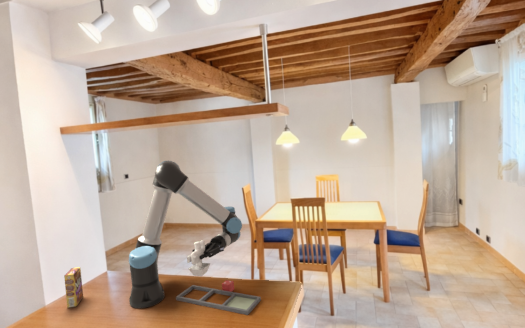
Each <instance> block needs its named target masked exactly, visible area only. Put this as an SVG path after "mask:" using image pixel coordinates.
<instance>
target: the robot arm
mask: <svg viewBox="0 0 525 328" xmlns="http://www.w3.org/2000/svg"><path fill="white" fill-rule="evenodd" d="M152 187H153V188H154V191H153V193H152V194H153V195H152V198H151V200H150V201H151V202H150V205H149V209H148V211H147V216H146V219H145V224H144V227H143V230H142V234H141V235H140V236H138V238H137V241H136V245H135V248H134V249H132V250H131V251H130V252H129V254H128V264H129V270H130V279H131V290H130V296H129V299H128V300H129V306H130V307H131V308H134V309H145V308H150V307H152V306H155V305H157V304H159V303H160V302H162V301H163V300H164V299H165V297H166V296H165V290H164V288H163V286H162V284H161V282H160V279H159V277H160V276H159V267H158V262H159V261H158V260H159V255H160V250H161V247H162V244H163V242H162V239H161V236H162V231H163V227H164V225H165V221H166V216H167V214H168V213H167V212H168V209H169V205H170V202H171V198H172V194H173V193H174V194H175V195H176V194H179V195H180V196H182V197H183V198H184V199H186V200H187V201H188V202H189V203H191V204H193V205H194V206H195V207H197V209H199V210H201V211H202V212H203V213H205V214H206V215H207V216H208V217H210V218H211V219H213V220H214V221H215V222H217V223H219V224H220V225H221V226H222V227H221V229H222V232H221V233H218V234H217V235H216V236H214V237H212V238H211V239H210V241H209V242H208V243H206V244H205V251H204V252H201V253H200V254H198V255H196V256H195V257H193V261H194V264H195V263H197V262H199V261H200V260H202V261H203V259H207V258H212V257H214V256H216V255H218V254H220V253H221V252H224V251H225V249H226V248H227V247H229V246H230V245H232V244H234V243H235V242H237V241H238V240H239V239H240V238H241V230H242V227H243V223H242V220H241V219H240V218H239V217H238V216H237V215H236V208H235V207H234V206H223V205H221V204H220V203H219V202H218V201H217V200H215V199H214V198H212V197H211V196H210V195H208V193H207V192H204V191H203V190H202V189H201V188H199V186H197V185H196V184H195V183H193V182H192V181H190V180H189V177H188V175H186V174H185V173H184V172H183V171H182V170H181V168H180V166H179V165H178V163H176V162H175V161H172V160H164V161H162V162H160V163H158V165H157V166H156V168H155V172H154V178H153V182H152ZM194 251H195V248H193V249H192V252H194ZM192 252H191V253H192ZM186 259H187V261H186V262H187V264H188V263H189V264H190V263H192V262H191V254H189V255H187V256H186Z"/></svg>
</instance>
